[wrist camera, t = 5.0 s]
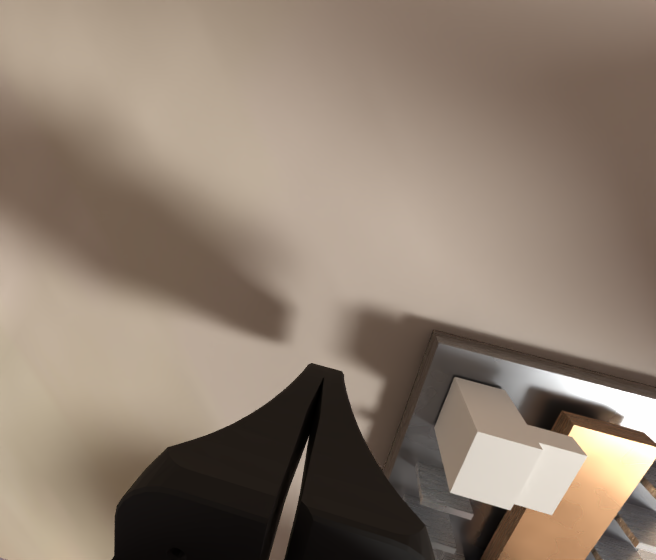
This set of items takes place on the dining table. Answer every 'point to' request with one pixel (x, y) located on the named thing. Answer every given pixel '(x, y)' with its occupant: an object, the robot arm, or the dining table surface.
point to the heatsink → (537, 410)
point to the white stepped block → (502, 451)
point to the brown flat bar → (578, 495)
